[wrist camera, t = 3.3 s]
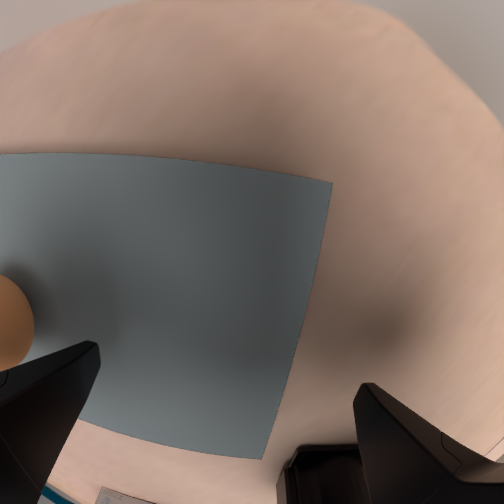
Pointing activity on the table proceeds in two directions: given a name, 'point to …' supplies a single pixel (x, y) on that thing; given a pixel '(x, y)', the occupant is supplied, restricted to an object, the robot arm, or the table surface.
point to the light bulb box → (116, 498)
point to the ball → (14, 324)
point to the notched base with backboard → (167, 286)
